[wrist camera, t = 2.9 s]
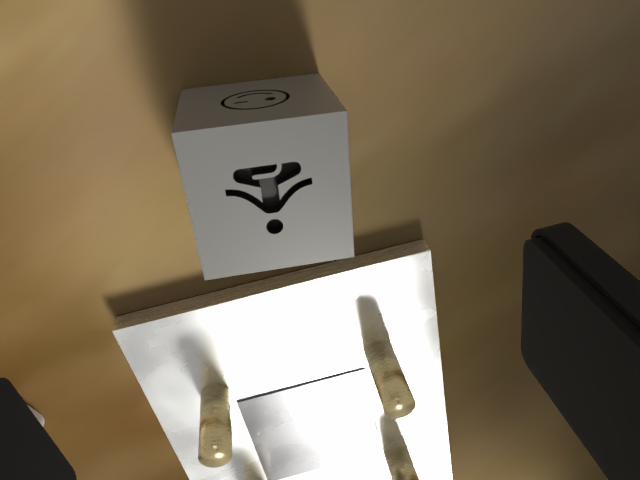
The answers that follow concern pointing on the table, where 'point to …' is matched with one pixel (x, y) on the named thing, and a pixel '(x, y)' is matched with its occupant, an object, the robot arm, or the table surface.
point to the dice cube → (265, 174)
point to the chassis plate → (301, 373)
